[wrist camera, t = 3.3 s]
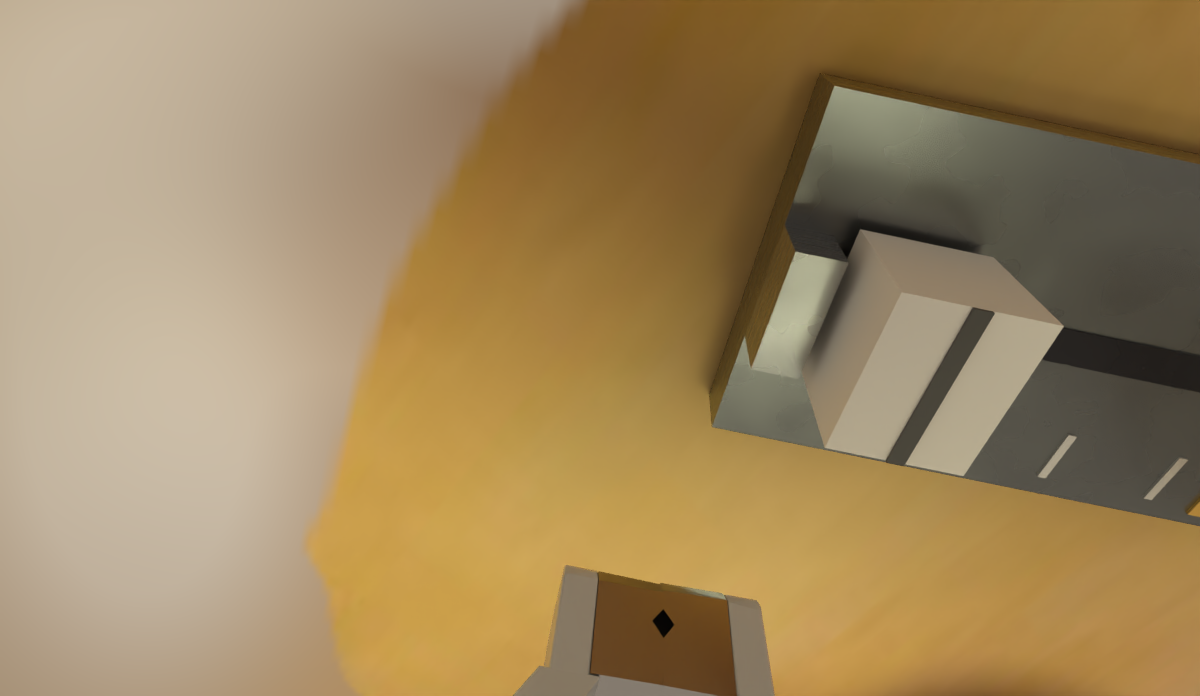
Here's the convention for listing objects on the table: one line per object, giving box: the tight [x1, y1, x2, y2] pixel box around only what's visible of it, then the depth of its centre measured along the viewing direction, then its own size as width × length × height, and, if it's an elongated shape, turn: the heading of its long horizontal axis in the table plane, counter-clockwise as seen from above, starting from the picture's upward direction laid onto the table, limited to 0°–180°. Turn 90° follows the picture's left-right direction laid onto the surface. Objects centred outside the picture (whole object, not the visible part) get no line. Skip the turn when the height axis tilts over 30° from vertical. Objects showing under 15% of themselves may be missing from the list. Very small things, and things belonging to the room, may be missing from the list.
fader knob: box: [802, 229, 1064, 476], centre depth 18 cm, size 4×5×4 cm
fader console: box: [709, 73, 1200, 526], centre depth 21 cm, size 24×12×4 cm, turn 80°
